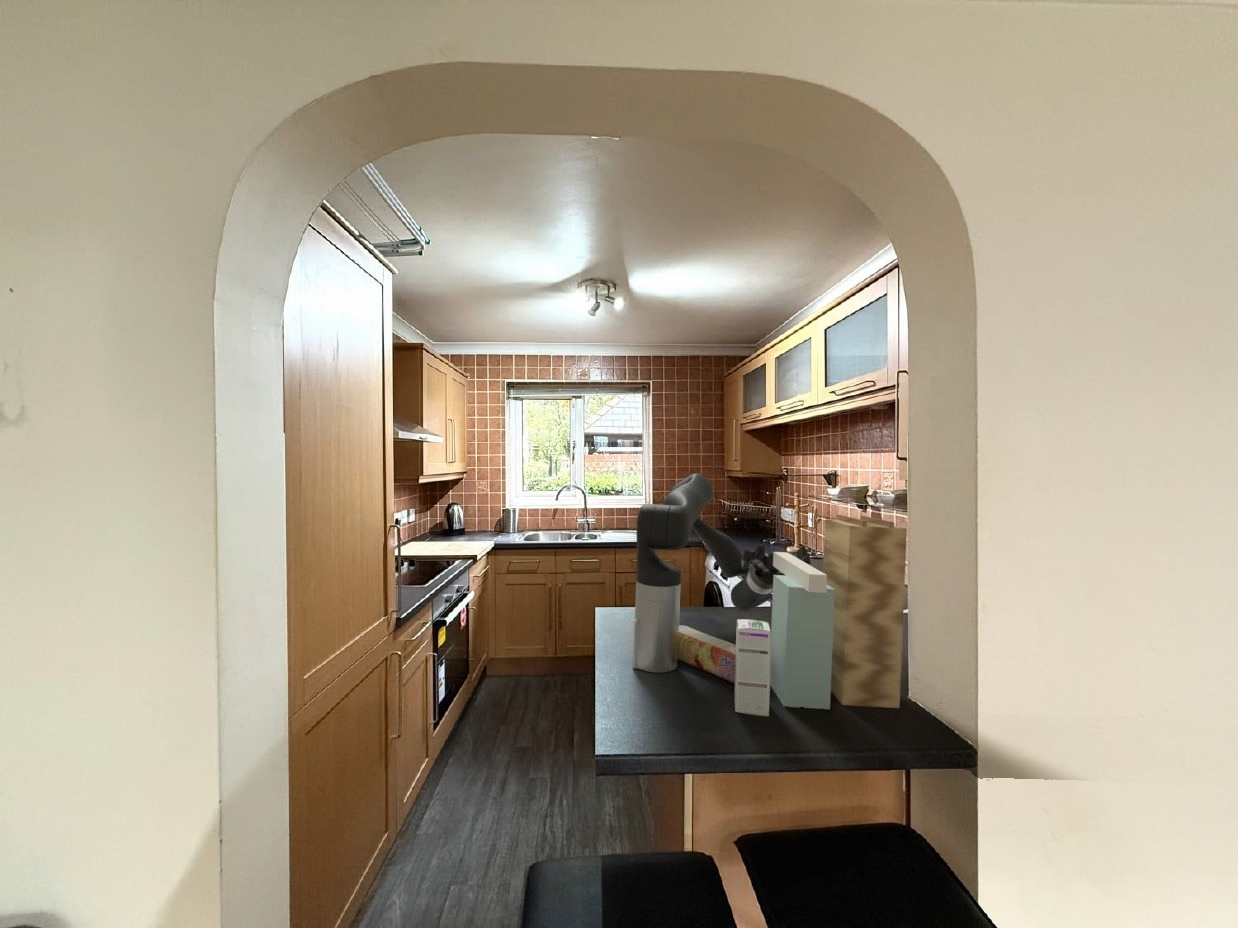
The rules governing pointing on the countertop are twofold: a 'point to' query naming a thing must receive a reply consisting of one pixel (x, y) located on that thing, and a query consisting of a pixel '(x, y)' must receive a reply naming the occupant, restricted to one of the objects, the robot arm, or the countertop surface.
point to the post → (801, 644)
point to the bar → (800, 572)
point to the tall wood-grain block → (866, 608)
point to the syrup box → (752, 667)
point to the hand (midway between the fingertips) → (783, 549)
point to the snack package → (707, 653)
